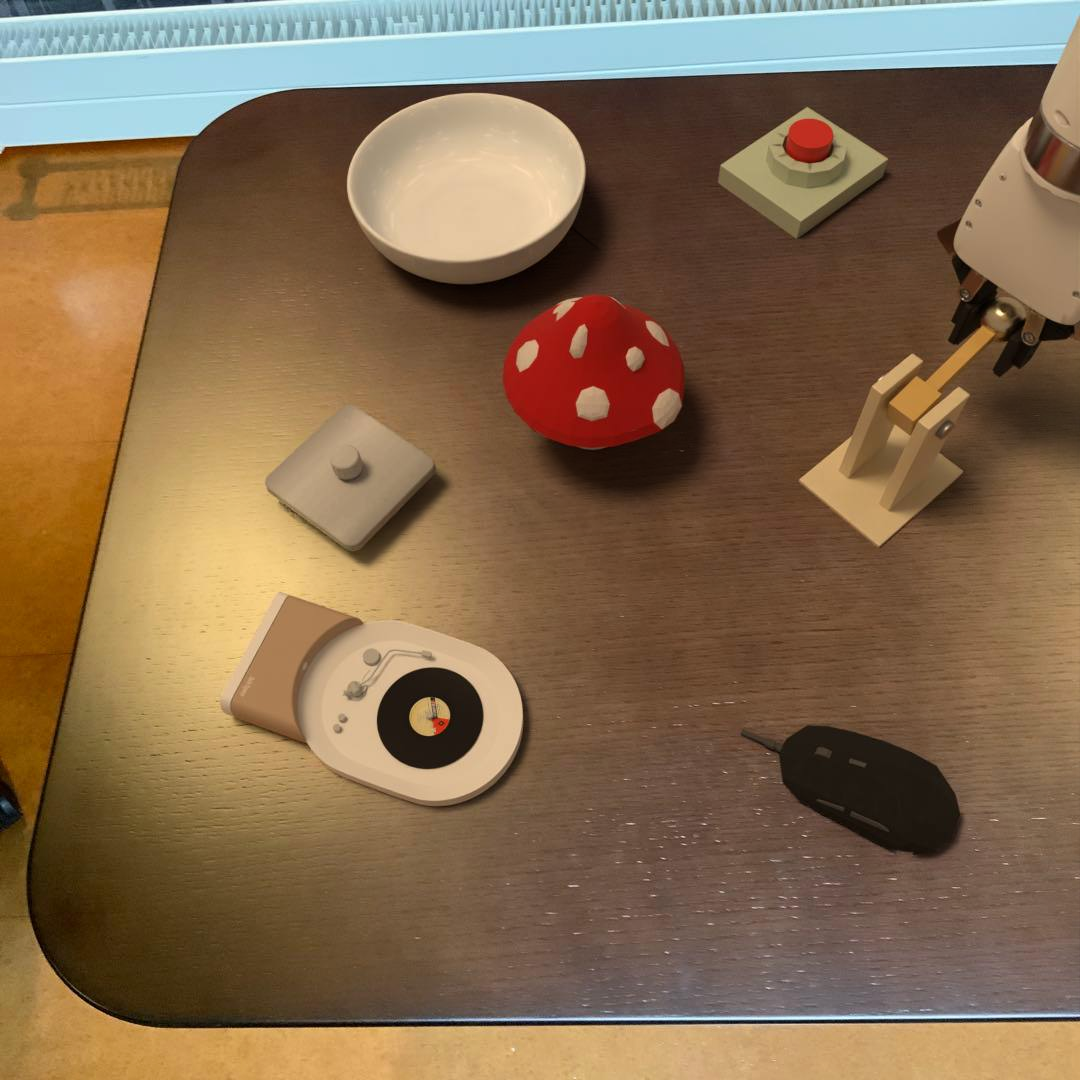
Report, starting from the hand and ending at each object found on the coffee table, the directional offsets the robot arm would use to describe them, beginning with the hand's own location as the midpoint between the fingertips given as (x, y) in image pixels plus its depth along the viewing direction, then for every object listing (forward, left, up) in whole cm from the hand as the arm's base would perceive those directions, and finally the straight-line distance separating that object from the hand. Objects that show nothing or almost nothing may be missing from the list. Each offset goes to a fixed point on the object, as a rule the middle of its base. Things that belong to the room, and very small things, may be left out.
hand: (986, 347), depth 77 cm
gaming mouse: (+29, +14, -10) cm, 33 cm away
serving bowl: (+14, -43, -10) cm, 46 cm away
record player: (+48, -11, -10) cm, 51 cm away
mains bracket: (+9, 0, -9) cm, 13 cm away
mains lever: (+4, 0, 0) cm, 4 cm away
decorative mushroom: (+21, -19, -10) cm, 30 cm away
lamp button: (-13, -27, -6) cm, 30 cm away
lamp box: (-12, -27, -9) cm, 31 cm away
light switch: (+40, -27, -10) cm, 49 cm away
